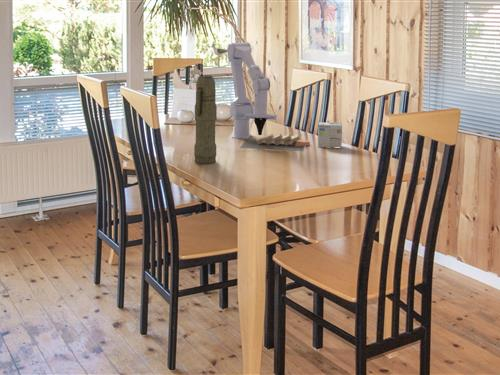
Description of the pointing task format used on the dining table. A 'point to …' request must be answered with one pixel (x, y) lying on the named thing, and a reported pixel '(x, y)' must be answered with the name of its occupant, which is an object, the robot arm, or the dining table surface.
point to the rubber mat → (270, 146)
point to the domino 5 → (301, 143)
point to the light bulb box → (329, 134)
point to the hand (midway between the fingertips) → (260, 134)
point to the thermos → (205, 120)
